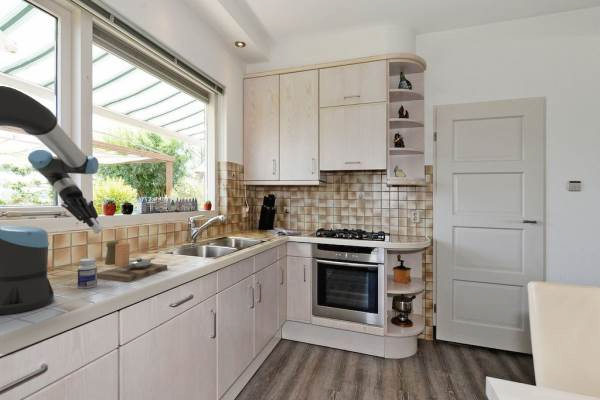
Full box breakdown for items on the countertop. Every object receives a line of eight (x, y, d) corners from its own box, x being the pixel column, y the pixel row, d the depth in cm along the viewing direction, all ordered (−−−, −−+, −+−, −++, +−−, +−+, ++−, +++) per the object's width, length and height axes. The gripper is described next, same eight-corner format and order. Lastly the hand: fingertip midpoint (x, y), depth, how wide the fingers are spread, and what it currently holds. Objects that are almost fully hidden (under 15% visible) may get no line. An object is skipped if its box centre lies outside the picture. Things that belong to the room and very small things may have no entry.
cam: (127, 273, 116) (128, 244, 116) (109, 271, 118) (110, 243, 118) (162, 263, 135) (162, 238, 135) (145, 261, 137) (146, 237, 137)
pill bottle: (82, 284, 107) (82, 257, 107) (99, 284, 108) (100, 257, 108) (74, 289, 101) (74, 261, 101) (92, 288, 103) (93, 260, 103)
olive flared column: (122, 262, 144) (122, 240, 144) (113, 265, 138) (113, 242, 138) (111, 261, 145) (111, 239, 145) (101, 264, 139) (102, 241, 139)
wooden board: (128, 282, 112) (128, 276, 112) (94, 278, 115) (95, 272, 115) (167, 269, 133) (167, 264, 133) (137, 266, 137) (138, 261, 137)
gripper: (78, 197, 133) (107, 235, 129) (47, 196, 120) (78, 239, 116) (87, 185, 131) (117, 224, 128) (57, 184, 119) (89, 226, 115)
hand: (98, 231), depth 122 cm, fingers closed
